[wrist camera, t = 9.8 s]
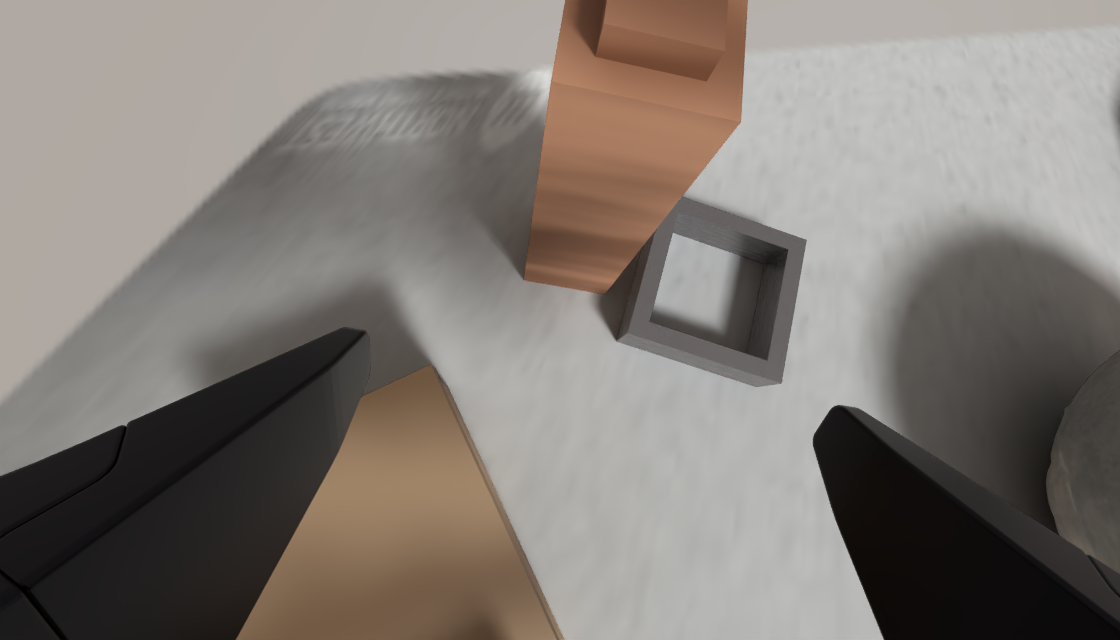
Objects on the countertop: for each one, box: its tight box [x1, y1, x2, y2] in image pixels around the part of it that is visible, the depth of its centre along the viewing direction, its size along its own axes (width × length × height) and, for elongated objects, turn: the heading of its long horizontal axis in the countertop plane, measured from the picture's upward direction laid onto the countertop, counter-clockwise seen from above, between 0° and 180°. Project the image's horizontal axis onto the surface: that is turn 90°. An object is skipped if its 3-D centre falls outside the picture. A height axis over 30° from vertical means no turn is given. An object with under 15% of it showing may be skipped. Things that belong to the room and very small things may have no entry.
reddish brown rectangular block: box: [524, 0, 748, 294], centre depth 16 cm, size 4×4×14 cm
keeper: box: [617, 197, 806, 387], centre depth 22 cm, size 7×7×2 cm
